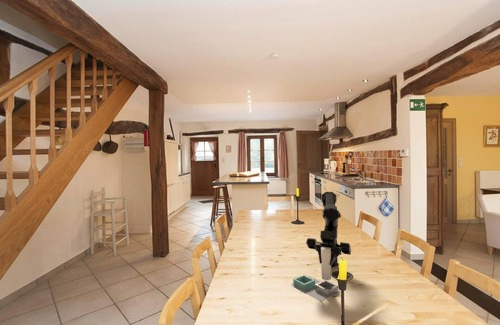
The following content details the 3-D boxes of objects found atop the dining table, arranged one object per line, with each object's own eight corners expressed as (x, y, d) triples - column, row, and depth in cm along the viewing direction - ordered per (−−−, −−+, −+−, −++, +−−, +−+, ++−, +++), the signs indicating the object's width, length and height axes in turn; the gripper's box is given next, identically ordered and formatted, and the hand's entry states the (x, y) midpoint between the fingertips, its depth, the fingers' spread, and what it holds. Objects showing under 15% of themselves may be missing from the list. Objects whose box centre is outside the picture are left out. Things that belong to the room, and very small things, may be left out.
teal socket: (293, 284, 121) (293, 278, 121) (304, 279, 125) (303, 274, 125) (304, 290, 116) (304, 284, 116) (315, 285, 120) (315, 280, 119)
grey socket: (315, 290, 116) (315, 284, 116) (325, 285, 120) (325, 279, 120) (327, 296, 110) (327, 290, 110) (338, 291, 114) (338, 285, 114)
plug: (319, 277, 115) (319, 248, 115) (325, 275, 117) (325, 246, 117) (327, 281, 112) (326, 250, 111) (333, 278, 114) (332, 248, 114)
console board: (290, 286, 121) (290, 284, 121) (310, 277, 129) (310, 276, 129) (321, 303, 107) (321, 301, 107) (341, 293, 114) (341, 291, 114)
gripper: (306, 220, 122) (299, 252, 113) (349, 224, 113) (345, 259, 104) (311, 232, 129) (305, 263, 120) (352, 237, 120) (349, 271, 111)
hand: (325, 264), depth 113 cm, fingers closed on plug, 4 cm apart
